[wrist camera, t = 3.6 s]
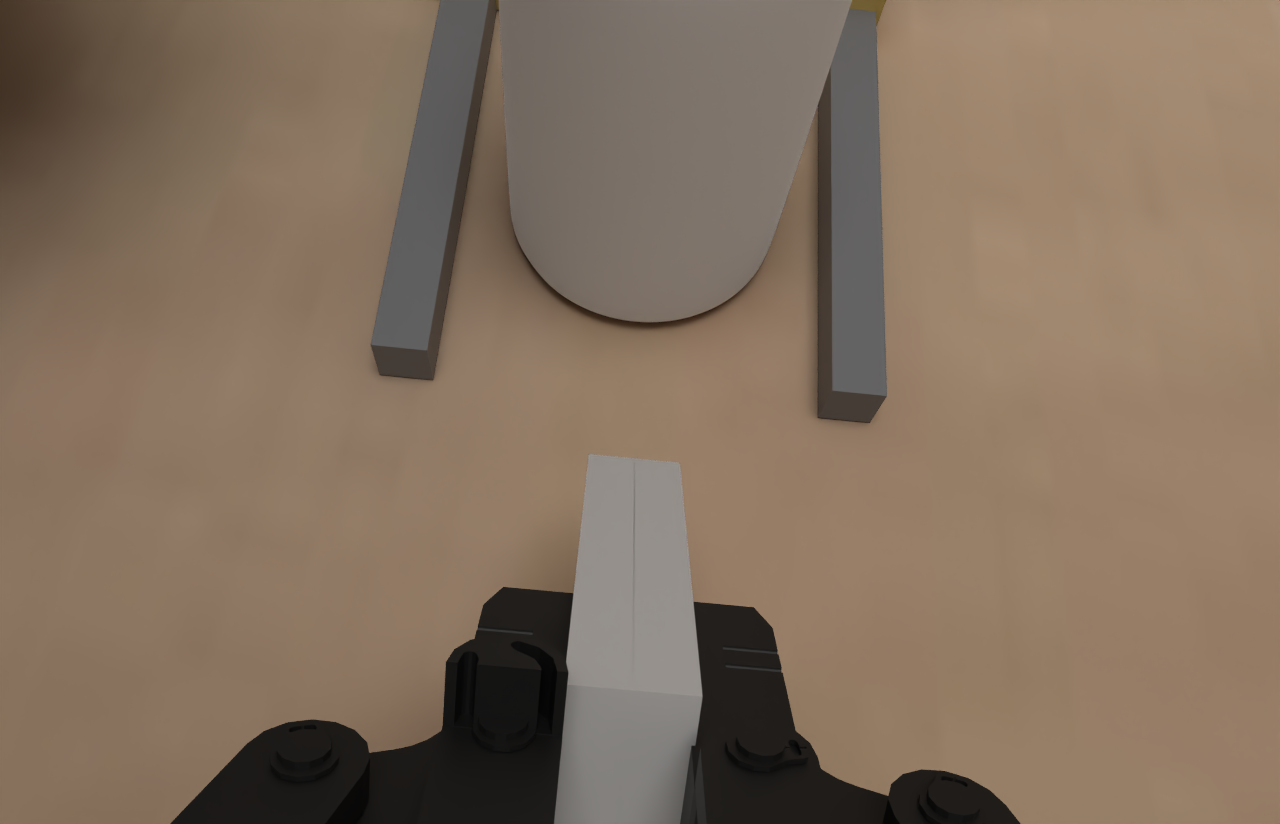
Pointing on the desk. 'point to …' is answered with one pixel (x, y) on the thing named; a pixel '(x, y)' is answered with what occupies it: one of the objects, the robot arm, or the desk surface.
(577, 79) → the can
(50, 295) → the desk surface
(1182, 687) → the desk surface
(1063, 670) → the desk surface
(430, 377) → the u-shaped rail frame
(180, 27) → the desk surface
